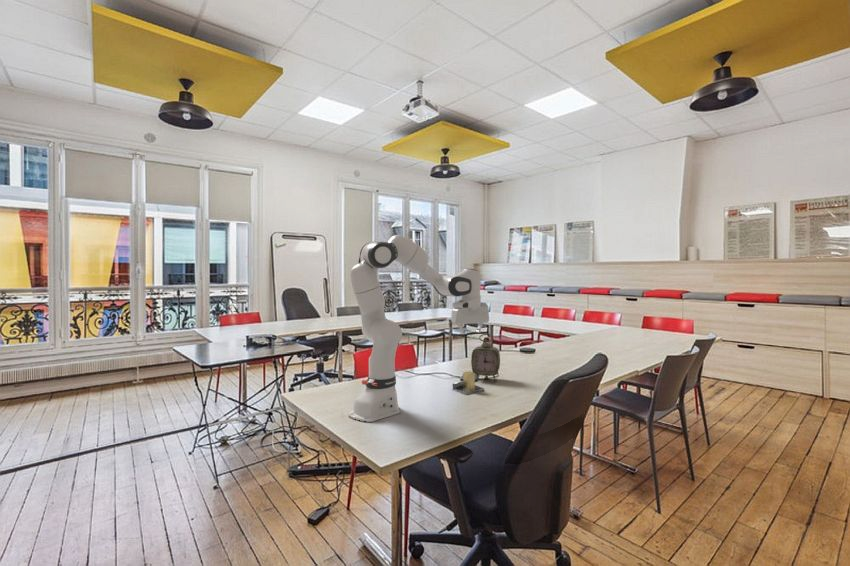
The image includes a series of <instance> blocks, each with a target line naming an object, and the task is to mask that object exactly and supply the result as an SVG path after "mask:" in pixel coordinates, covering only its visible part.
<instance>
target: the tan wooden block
mask: <svg viewBox="0 0 850 566" xmlns="http://www.w3.org/2000/svg"><path fill="white" fill-rule="evenodd" d="M462 373H463V374H462V379H463V380H462V381H463V388H464V389H466V390H472V389H475V385H476V384H475V383H476V382H475V381H476V380H475V377H476V374H475V373H474V372H473V371H470V370H468V371H463V372H462Z"/></svg>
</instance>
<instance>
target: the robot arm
mask: <svg viewBox="0 0 850 566" xmlns="http://www.w3.org/2000/svg"><path fill="white" fill-rule="evenodd" d="M358 257H359V259H358V263H357V264H355V265H354V266H353V267H351V268H350V272H349V274H350V282H351V285H352V290H353V292H354V296H355V299H356V302H357V304H358V308H359V312H360V317H361V323H362V325H361V333H362V335H363V336H364V338H366V340H368V341H369V342H371V343H372V349H371V353H370V356H369V357H368V377H367V379H361V384H362V385H365V387H364V389H363V390H362V391H361V392H360V393H359V395H358V396H357V397H355V400H354V403H353V409H352V410H350V411H349V412H348V413H347V416H348V417H349V416H350V417H351V419H353V420H355V419H356V420H355V421H359V420H360V421H361V422H364V421H366V423H372V422H376V421H379V420H382V419H385V418H388V417H391V416H395V415H398V414H400V413H401V410H400V406H399V400H398V393H397V388H396V384H397V378H396V377H397V376H396V371H395V370H396V368H395V367H396V366H395V360H396V353H397V348H398V345H399V343H400V342H401V340H402V338H403V330H402V328H401V326H400V325H399V324H398V323H396V322H395V321H393V320H391V319H387V316H386V312H385V305H386V300H385V297H384V294H383V290H382V288H381V285H380V282H379V279H378V270H379V269H384V268H387V267H388V266H390V265H391V264H392V263H393V262H394V261H396V262H398V264H400V265H402V266H404V268H406V269H407V270H409V271H412V272H414V273H415V274H417V275H419V276H420V277H421V278H423V279H424V280H425V281H426V282H428V283H429V284H430V285H431V286H433V288H434V290H435V292H436V293H437V294H438V295H439V296H441V297H454V298H457V297H461V299H460V300H456V301H454V302H453V303H452V305H451V306H452V310H451V317H450V318H451V323H452V325H457V326H458V329H459V333H460V335H465V334H466V330H465V329H464V328H463V327H464V325H469V324H472V325H473V324H477V325H478V326H477V327H476V328H475V332H476V333H479V334H480V333H481V331H482V330H481V329H482V328H483V325H484V324H485V323H489V322H490V313H489V306H488V304H487V303H485V302H481V298H482V297H481V287H482V284H481V283H482V280H481V279H482V278H481V274H480V271H478V270H477V269H474V268H464V269H462V271H460V272H459V273H456V274H454V275H445V274H442V273H439V272H438V271H437V269H434V268H433V267H432V266H431V265H429V253H428V252H426V250H425V249H424V248H422V247H421V246H420V245H419V244H417V243H416V242H415V241H413V240H411V239H410V238H407V237H405V236H403V235H400V234H394V235H393V236H391V237H390V238H389V239H388V240H387V241H376V240H374V241H371V242H367V243H365V244H364V245H363V246H362V247H361V249H360V251H359V256H358ZM350 417H349V418H350Z"/></svg>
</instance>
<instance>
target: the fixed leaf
mask: <svg viewBox="0 0 850 566" xmlns="http://www.w3.org/2000/svg"><path fill="white" fill-rule="evenodd" d="M454 390H455V392H457V393H459V392H460V394H462V395H464V394H465V396H466V394H467V395H470V394H474V393H479V392H485V387H480V386H479V385H476V384H475V389H472V390H466V389H464V388H463V380H462V381H458V382H453V383H452V391H454Z"/></svg>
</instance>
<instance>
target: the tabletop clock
mask: <svg viewBox="0 0 850 566" xmlns="http://www.w3.org/2000/svg"><path fill="white" fill-rule="evenodd" d="M482 336H488V337H490V338H491V339H488V340H487V338H484V339H481V338H482ZM478 338H479V340H480V342H482V343H481V346H476V347H475V348H474V349H473V350H472V352H471V359H470V362H471V363H470V364H471V370H472V371H471V372H474V373H475V377H476V376H477V377H478V376H484V379H486V380H488V379H489V376H490V377H491V376H492V377H493V381H494V382H497V381H498V380H497V378H496V377H495V376H497V374H498V372H499V371H500V366H501V357H500V356H501V355H500V354H501V353H500V350H499V348H498V347H494V346H491V344H490V343H489V342H492V340H493V336H492V335H491V334H488V333H482V334H481V335H479V337H478Z"/></svg>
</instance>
